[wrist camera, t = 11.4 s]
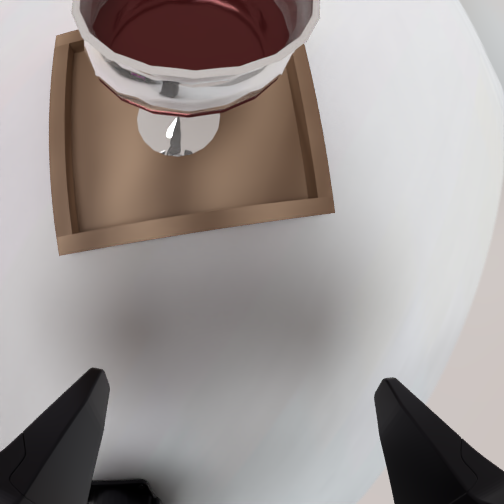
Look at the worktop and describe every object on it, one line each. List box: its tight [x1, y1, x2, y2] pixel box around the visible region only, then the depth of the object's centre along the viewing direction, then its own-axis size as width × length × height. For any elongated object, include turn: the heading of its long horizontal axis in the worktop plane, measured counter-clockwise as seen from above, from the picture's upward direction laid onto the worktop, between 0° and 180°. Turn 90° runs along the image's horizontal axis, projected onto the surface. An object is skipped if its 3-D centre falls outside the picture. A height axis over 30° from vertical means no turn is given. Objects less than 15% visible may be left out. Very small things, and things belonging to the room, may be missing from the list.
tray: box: [49, 30, 335, 256], centre depth 17 cm, size 16×14×2 cm
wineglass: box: [72, 0, 320, 157], centre depth 11 cm, size 7×7×12 cm
